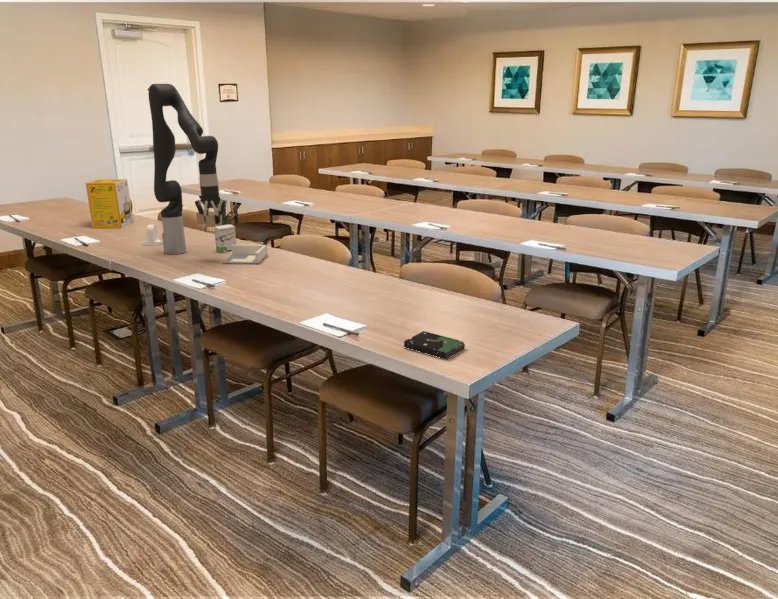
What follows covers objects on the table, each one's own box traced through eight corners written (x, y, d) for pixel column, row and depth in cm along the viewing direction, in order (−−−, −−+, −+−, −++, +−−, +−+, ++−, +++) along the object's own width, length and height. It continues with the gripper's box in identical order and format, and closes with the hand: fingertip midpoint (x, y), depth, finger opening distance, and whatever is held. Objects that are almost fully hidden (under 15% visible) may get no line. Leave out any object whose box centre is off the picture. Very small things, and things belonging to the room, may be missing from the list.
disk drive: (403, 350, 182) (446, 361, 173) (403, 341, 181) (446, 352, 173) (423, 339, 190) (465, 349, 181) (422, 330, 189) (465, 340, 180)
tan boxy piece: (215, 227, 268) (214, 215, 267) (192, 226, 269) (191, 215, 267) (222, 222, 277) (221, 211, 275) (200, 222, 277) (198, 211, 276)
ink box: (220, 253, 291) (218, 228, 287) (216, 251, 295) (213, 226, 291) (237, 250, 296) (235, 225, 292) (232, 248, 300) (230, 224, 296)
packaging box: (105, 222, 362) (98, 179, 354) (133, 222, 362) (127, 179, 354) (92, 228, 347) (85, 183, 339) (121, 228, 346) (115, 183, 339)
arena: (222, 263, 272) (221, 252, 271) (233, 255, 287) (232, 244, 285) (258, 264, 271) (257, 253, 270) (267, 255, 285) (266, 245, 284)
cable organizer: (147, 243, 312) (145, 223, 308) (166, 243, 311) (164, 223, 308) (142, 245, 307) (139, 225, 303) (162, 246, 306) (159, 226, 303)
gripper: (189, 185, 262) (193, 225, 268) (222, 185, 262) (226, 225, 267) (196, 183, 270) (200, 222, 275) (228, 183, 269) (231, 222, 274)
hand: (213, 223), depth 271 cm, fingers closed on tan boxy piece, 4 cm apart
